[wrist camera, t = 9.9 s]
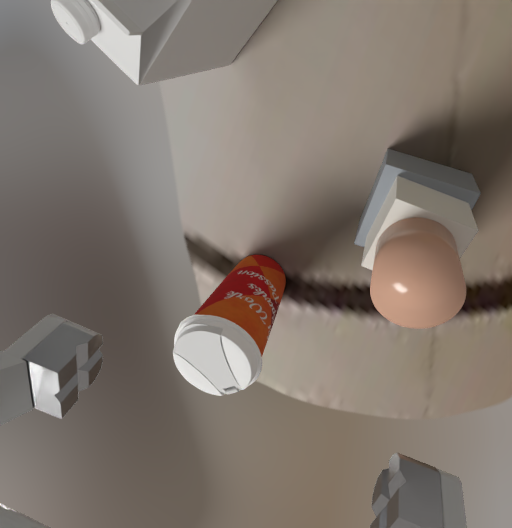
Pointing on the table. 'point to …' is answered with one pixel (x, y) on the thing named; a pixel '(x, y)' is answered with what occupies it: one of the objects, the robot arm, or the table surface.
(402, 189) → the tower top block
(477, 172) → the table surface
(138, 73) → the milk carton
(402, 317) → the peach rounded cylinder
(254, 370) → the paper cup
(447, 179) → the tower base block
